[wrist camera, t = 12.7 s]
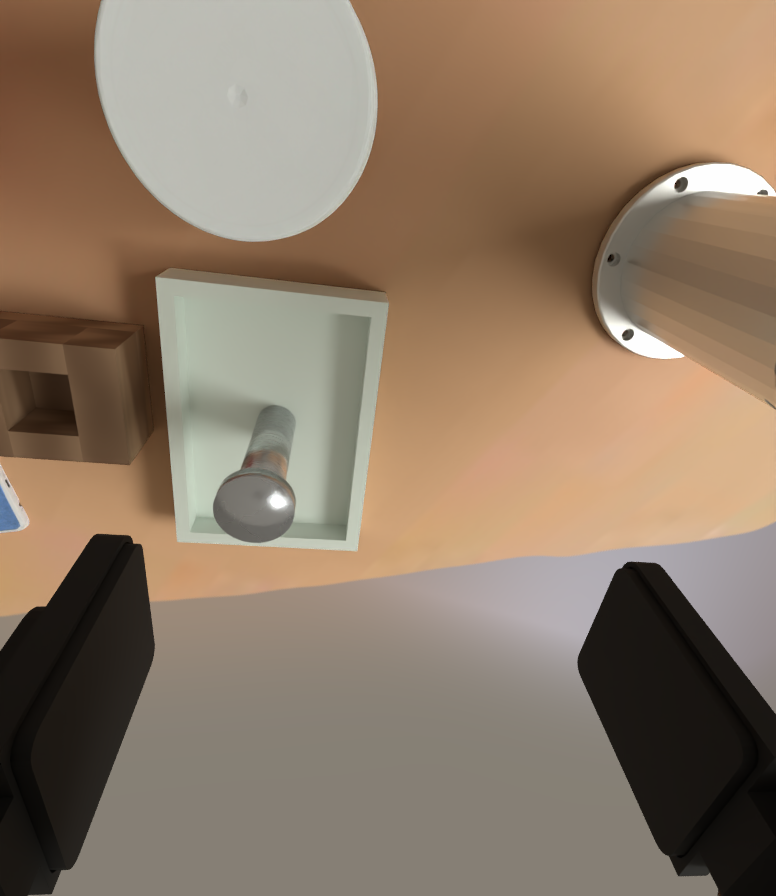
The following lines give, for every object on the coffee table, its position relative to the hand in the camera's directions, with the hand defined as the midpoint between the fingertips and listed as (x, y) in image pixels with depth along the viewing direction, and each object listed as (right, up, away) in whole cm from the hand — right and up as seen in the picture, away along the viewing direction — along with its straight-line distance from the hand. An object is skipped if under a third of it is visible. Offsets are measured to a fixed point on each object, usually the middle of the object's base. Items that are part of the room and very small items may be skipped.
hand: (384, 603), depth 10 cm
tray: (-8, +5, +29) cm, 30 cm away
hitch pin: (-8, +5, +28) cm, 29 cm away
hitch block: (-22, +8, +26) cm, 35 cm away
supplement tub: (-6, +22, +20) cm, 30 cm away
